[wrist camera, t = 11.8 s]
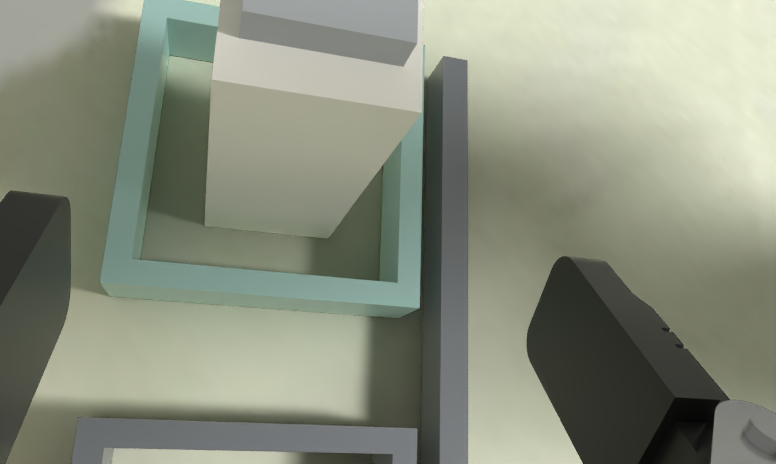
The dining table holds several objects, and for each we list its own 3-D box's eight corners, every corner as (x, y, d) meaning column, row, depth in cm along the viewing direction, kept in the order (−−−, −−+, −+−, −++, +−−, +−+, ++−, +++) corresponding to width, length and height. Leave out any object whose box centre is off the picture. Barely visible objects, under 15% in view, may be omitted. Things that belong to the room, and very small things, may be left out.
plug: (217, 111, 25) (235, -137, 14) (334, 128, 26) (439, -88, 15) (204, 225, 24) (212, 54, 12) (328, 238, 25) (436, 91, 14)
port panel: (149, 32, 25) (145, -8, 23) (449, 84, 28) (472, 54, 26) (33, 797, 18) (9, 854, 16) (444, 756, 21) (475, 798, 19)
